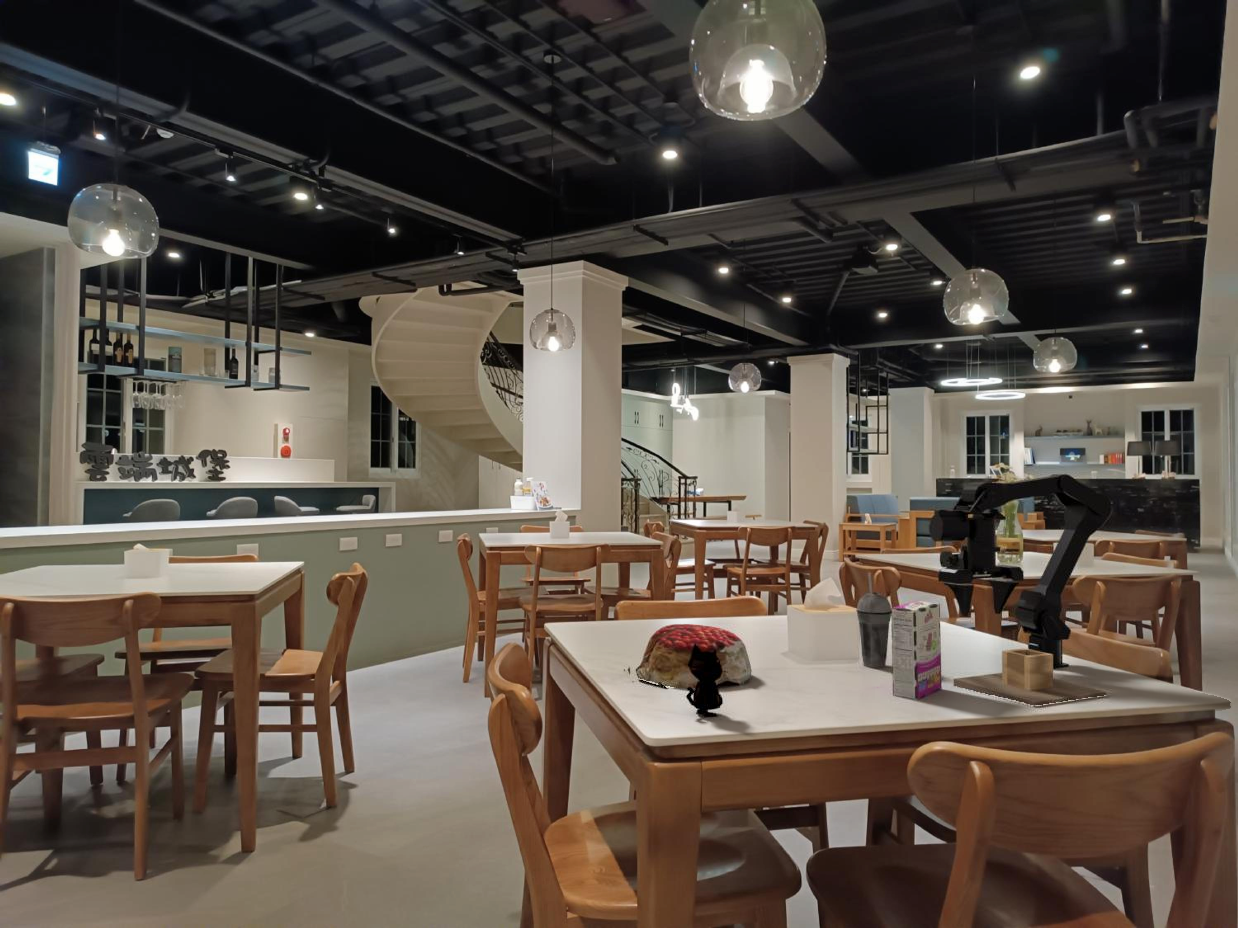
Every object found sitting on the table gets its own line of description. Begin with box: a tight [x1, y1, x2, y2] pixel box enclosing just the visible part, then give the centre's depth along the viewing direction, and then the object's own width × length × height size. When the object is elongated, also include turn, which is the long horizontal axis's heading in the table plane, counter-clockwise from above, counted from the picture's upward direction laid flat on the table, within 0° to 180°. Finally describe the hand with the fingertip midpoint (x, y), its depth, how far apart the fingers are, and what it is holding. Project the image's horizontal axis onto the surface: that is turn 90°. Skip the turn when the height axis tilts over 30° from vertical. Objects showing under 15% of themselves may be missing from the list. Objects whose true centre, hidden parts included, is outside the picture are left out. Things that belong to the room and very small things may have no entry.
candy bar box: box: [890, 600, 943, 701], centre depth 151 cm, size 11×5×16 cm, turn 136°
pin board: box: [953, 672, 1108, 706], centre depth 151 cm, size 18×18×6 cm
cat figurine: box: [685, 644, 729, 718], centre depth 135 cm, size 7×7×12 cm
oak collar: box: [1001, 647, 1054, 690], centre depth 151 cm, size 6×6×6 cm
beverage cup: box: [856, 571, 892, 669], centre depth 173 cm, size 7×7×20 cm
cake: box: [623, 623, 753, 689], centre depth 164 cm, size 23×24×10 cm
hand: (981, 615), depth 172 cm, fingers open, 9 cm apart
